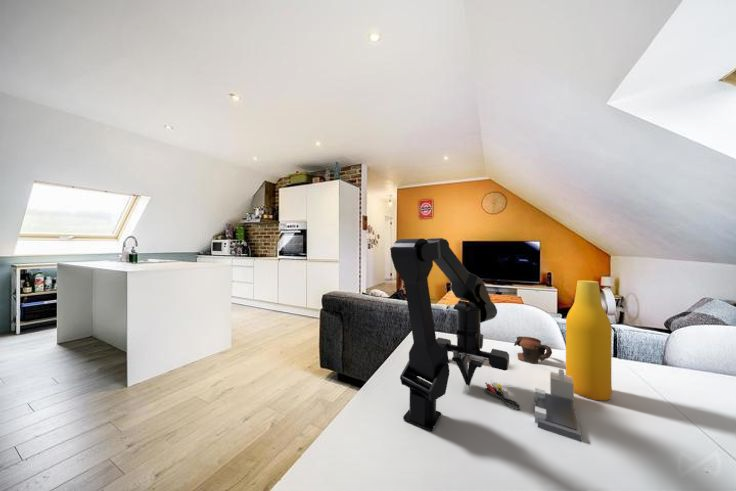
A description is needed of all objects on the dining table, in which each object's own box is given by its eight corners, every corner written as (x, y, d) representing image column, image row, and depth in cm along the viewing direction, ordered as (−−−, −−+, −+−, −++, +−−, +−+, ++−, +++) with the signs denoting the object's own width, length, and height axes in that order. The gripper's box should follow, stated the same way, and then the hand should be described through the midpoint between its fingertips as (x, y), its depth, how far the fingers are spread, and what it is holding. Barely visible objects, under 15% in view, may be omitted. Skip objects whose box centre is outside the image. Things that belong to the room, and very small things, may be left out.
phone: (581, 441, 49) (581, 429, 49) (534, 426, 54) (534, 414, 54) (572, 405, 61) (572, 394, 61) (535, 394, 65) (535, 385, 65)
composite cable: (523, 411, 59) (523, 400, 59) (504, 413, 58) (504, 402, 58) (496, 388, 69) (496, 379, 69) (480, 389, 68) (480, 379, 68)
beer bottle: (562, 378, 74) (563, 278, 74) (605, 388, 69) (606, 280, 69) (568, 394, 66) (568, 281, 66) (617, 406, 61) (617, 284, 61)
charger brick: (573, 404, 61) (573, 377, 61) (550, 398, 64) (551, 371, 64) (571, 396, 65) (571, 369, 65) (550, 390, 67) (550, 365, 67)
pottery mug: (508, 358, 88) (508, 334, 92) (523, 366, 92) (523, 342, 96) (546, 362, 79) (545, 335, 82) (561, 370, 82) (559, 344, 86)
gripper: (511, 324, 69) (511, 382, 69) (443, 314, 80) (442, 364, 79) (507, 335, 60) (506, 402, 60) (430, 322, 70) (430, 379, 70)
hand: (468, 384), depth 68 cm, fingers closed
